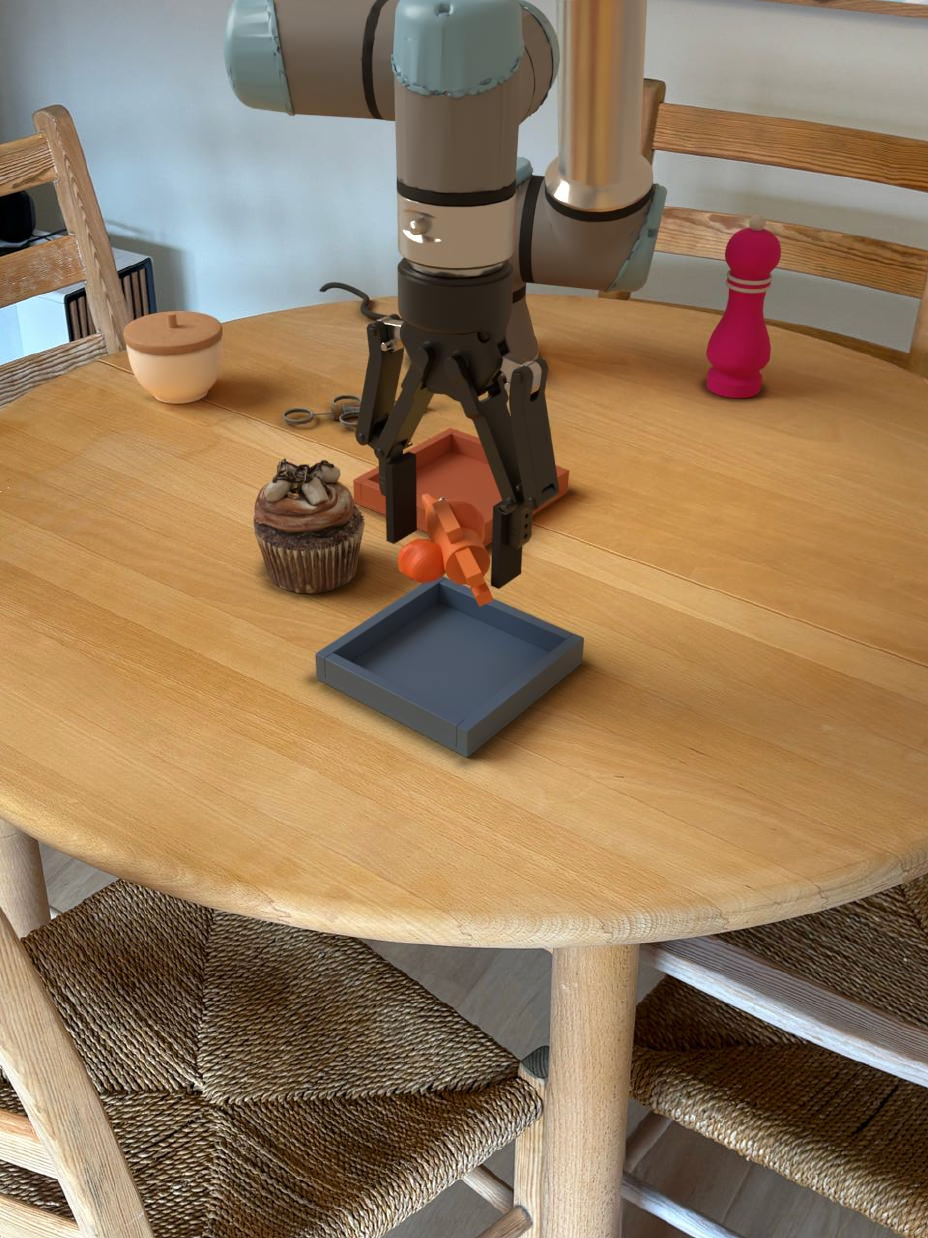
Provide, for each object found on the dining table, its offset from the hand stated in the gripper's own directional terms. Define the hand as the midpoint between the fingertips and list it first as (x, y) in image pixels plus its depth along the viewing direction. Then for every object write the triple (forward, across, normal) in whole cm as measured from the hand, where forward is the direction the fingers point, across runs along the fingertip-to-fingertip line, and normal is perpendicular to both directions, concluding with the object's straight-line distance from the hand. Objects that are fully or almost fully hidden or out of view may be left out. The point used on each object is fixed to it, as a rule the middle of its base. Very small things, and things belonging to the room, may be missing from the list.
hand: (452, 556), depth 93 cm
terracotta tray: (+11, -17, +23) cm, 30 cm away
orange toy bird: (+2, -1, 0) cm, 2 cm away
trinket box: (+11, -57, +22) cm, 62 cm away
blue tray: (+11, 0, 0) cm, 11 cm away
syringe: (+11, -37, +31) cm, 49 cm away
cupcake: (+11, -19, +4) cm, 22 cm away
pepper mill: (+11, -9, +64) cm, 65 cm away
